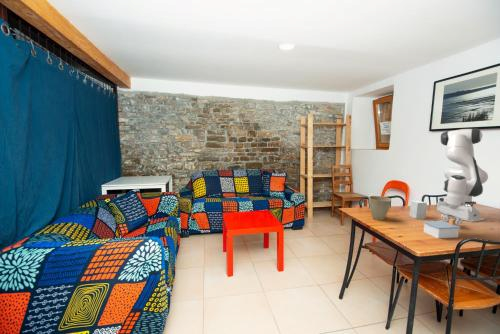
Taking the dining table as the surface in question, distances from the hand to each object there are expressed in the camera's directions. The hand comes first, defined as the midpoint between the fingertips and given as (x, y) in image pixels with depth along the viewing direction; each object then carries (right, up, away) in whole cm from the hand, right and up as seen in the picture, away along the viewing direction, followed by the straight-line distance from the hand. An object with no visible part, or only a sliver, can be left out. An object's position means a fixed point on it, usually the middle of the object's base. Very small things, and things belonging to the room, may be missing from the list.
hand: (452, 222), depth 144 cm
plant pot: (-32, -4, +28) cm, 42 cm away
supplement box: (+1, -4, +32) cm, 32 cm away
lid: (-7, -3, -1) cm, 7 cm away
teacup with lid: (+11, -6, +14) cm, 19 cm away
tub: (-8, -8, 0) cm, 11 cm away
